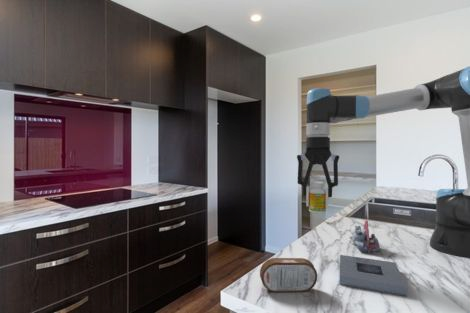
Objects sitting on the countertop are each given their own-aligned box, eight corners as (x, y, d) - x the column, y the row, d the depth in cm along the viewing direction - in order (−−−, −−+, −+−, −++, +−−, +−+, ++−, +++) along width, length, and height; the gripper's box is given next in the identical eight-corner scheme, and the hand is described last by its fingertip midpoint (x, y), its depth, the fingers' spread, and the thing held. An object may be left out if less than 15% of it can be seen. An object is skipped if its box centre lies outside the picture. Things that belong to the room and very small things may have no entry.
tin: (314, 287, 73) (315, 256, 73) (318, 293, 70) (319, 261, 70) (259, 287, 72) (259, 257, 72) (261, 294, 69) (261, 261, 69)
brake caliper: (390, 250, 94) (367, 221, 96) (362, 265, 96) (341, 237, 98) (382, 239, 105) (362, 214, 107) (357, 254, 107) (338, 228, 109)
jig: (395, 270, 83) (395, 262, 83) (406, 296, 68) (407, 286, 68) (340, 262, 89) (340, 254, 89) (339, 284, 74) (339, 275, 74)
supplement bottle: (314, 213, 86) (314, 183, 86) (305, 210, 91) (305, 181, 91) (329, 212, 88) (329, 183, 87) (319, 209, 93) (319, 181, 93)
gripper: (287, 136, 89) (287, 206, 90) (348, 135, 82) (347, 211, 83) (292, 137, 96) (291, 202, 96) (348, 136, 89) (347, 206, 90)
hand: (317, 206), depth 90 cm, fingers closed on supplement bottle, 5 cm apart
